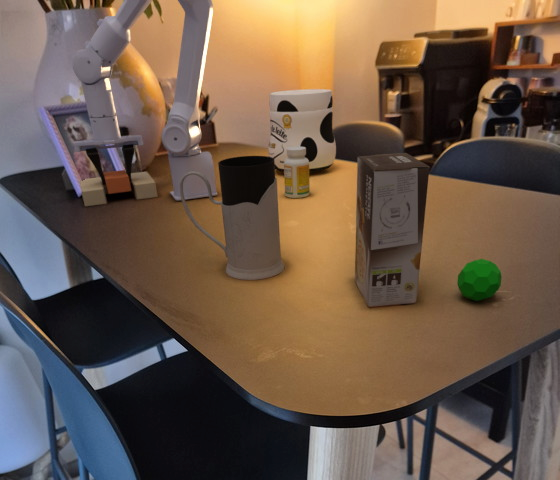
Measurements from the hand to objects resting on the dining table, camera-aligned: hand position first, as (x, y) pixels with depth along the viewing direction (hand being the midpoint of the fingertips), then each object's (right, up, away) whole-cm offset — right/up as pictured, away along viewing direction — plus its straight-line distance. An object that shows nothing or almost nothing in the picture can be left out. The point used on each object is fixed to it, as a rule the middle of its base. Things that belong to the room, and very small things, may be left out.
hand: (116, 182), depth 117 cm
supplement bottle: (+41, -5, -5) cm, 42 cm away
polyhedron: (+62, -34, -53) cm, 88 cm away
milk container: (+43, +9, +17) cm, 47 cm away
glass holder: (+31, -28, -40) cm, 58 cm away
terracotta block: (0, -1, +1) cm, 1 cm away
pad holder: (-1, -2, +4) cm, 4 cm away
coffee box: (+51, -33, -50) cm, 79 cm away
